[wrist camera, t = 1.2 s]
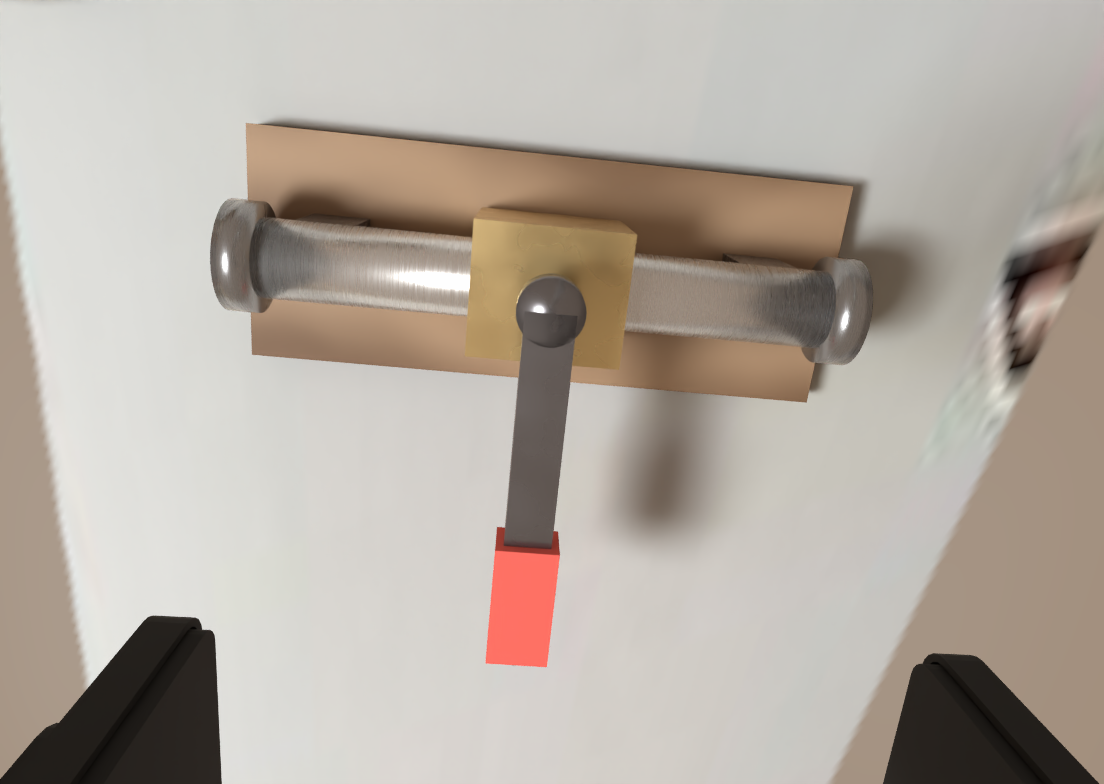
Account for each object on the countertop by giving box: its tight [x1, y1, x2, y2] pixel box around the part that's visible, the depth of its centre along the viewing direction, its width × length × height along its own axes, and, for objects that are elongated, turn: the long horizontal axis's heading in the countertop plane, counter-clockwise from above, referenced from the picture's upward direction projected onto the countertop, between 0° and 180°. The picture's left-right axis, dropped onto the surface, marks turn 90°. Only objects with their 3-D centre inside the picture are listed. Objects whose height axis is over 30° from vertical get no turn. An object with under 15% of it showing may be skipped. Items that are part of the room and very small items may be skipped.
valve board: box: [210, 123, 873, 402], centre depth 31 cm, size 10×26×9 cm, turn 84°
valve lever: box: [486, 273, 587, 667], centre depth 28 cm, size 15×2×2 cm, turn 174°
